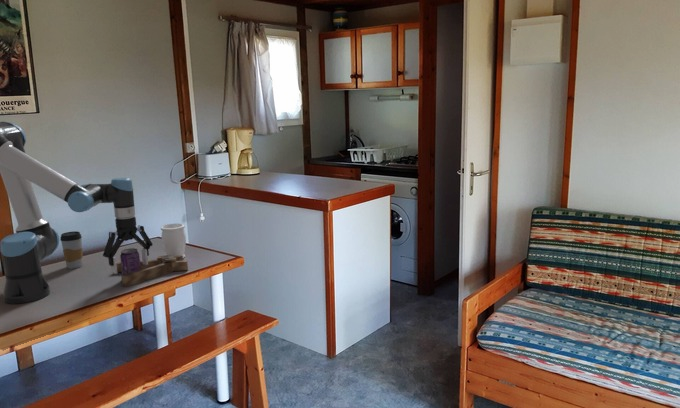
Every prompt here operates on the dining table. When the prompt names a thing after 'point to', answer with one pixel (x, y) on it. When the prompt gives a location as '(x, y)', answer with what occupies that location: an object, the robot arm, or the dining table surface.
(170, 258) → the tong arm
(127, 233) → the robot arm
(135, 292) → the dining table surface
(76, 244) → the coffee cup
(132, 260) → the beverage can
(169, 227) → the jar
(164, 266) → the tongs base
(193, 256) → the dining table surface
